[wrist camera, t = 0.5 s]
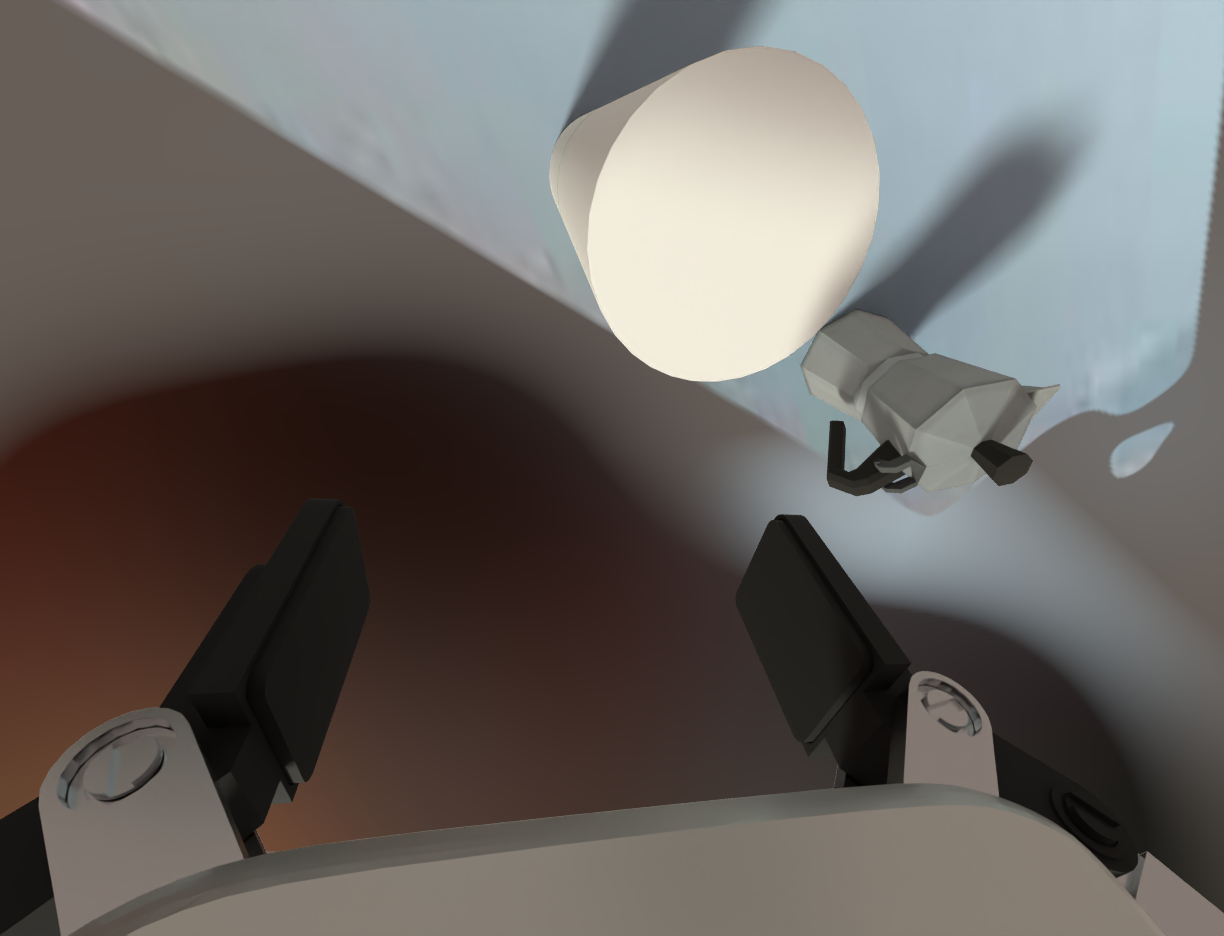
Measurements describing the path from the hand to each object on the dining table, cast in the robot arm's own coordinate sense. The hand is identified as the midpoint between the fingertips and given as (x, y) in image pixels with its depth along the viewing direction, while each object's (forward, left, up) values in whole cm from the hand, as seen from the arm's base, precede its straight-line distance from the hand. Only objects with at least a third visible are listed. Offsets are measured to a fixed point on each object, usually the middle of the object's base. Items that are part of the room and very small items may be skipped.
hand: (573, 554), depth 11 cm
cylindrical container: (-7, +2, -29) cm, 30 cm away
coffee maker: (-1, +27, -29) cm, 40 cm away
